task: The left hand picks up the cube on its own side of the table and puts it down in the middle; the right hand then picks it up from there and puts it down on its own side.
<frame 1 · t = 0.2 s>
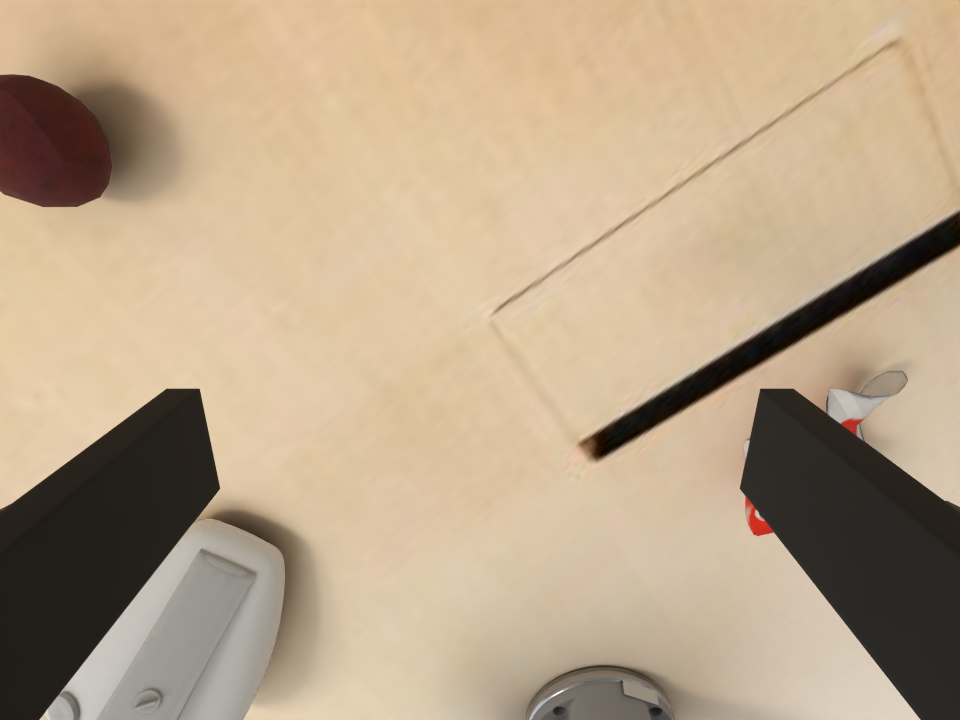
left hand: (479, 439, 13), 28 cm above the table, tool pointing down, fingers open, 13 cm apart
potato: (81, 147, 36), on the table
projector: (203, 604, 51), on the table
fish: (794, 424, 44), on the table
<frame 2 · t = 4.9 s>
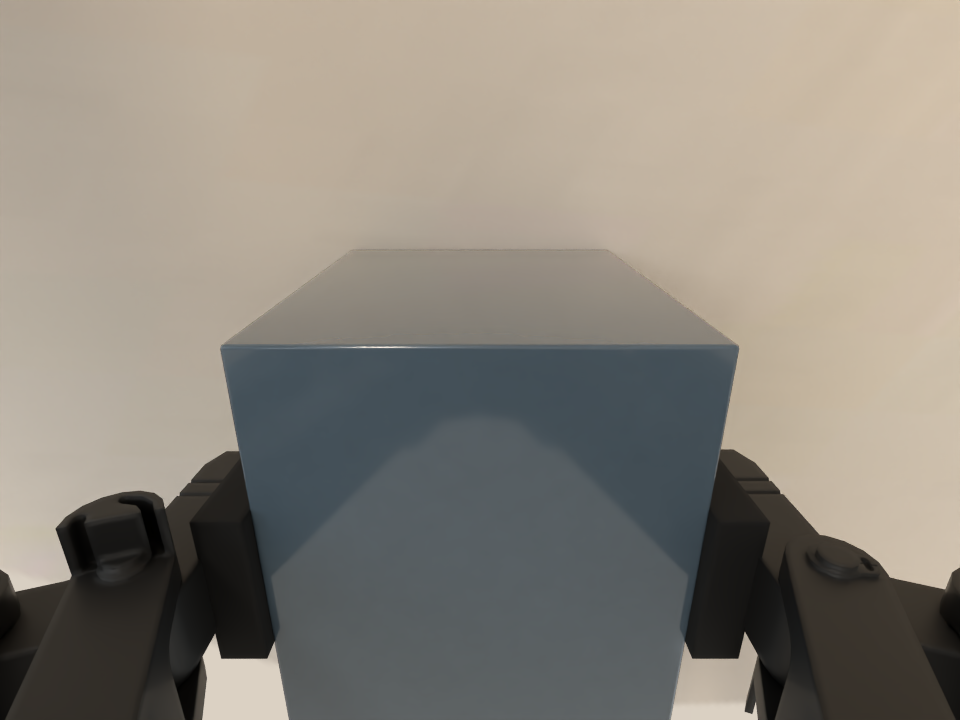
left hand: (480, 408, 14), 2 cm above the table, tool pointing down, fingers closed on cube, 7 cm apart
cube: (479, 384, 16), on the table, touching left hand
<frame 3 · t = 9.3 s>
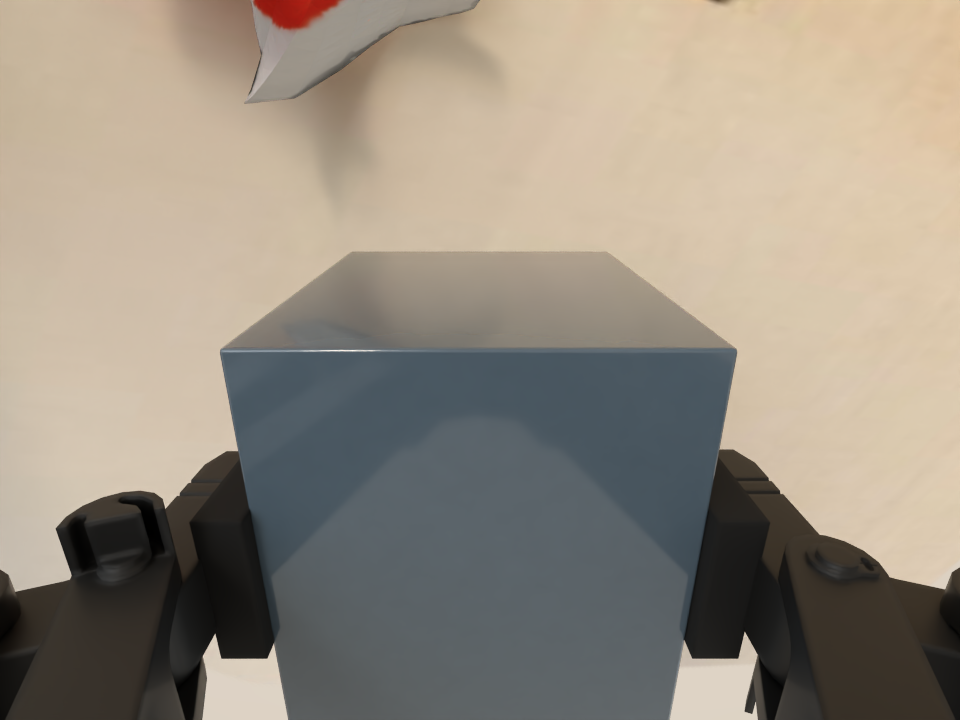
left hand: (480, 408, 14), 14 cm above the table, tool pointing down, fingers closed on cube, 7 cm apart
cube: (479, 385, 16), point 12 cm above the table, touching left hand
when the left hand's fingers open (4 cm above the table, at t = 13.7 s): cube drops 2 cm, on the table.
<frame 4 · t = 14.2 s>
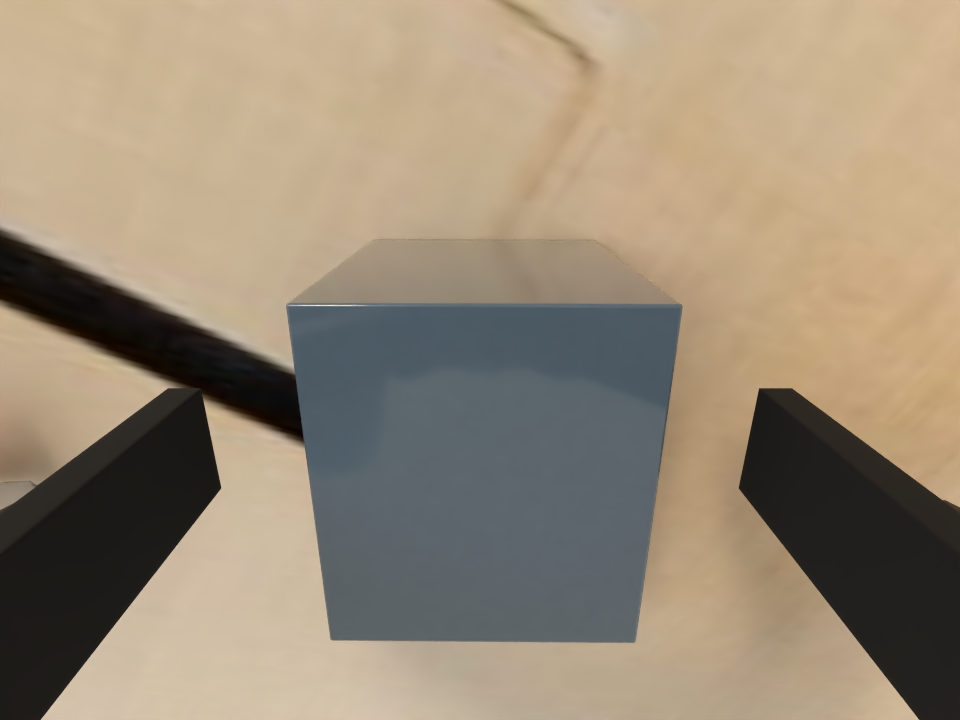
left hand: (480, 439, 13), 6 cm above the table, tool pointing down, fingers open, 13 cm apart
cube: (483, 358, 18), on the table
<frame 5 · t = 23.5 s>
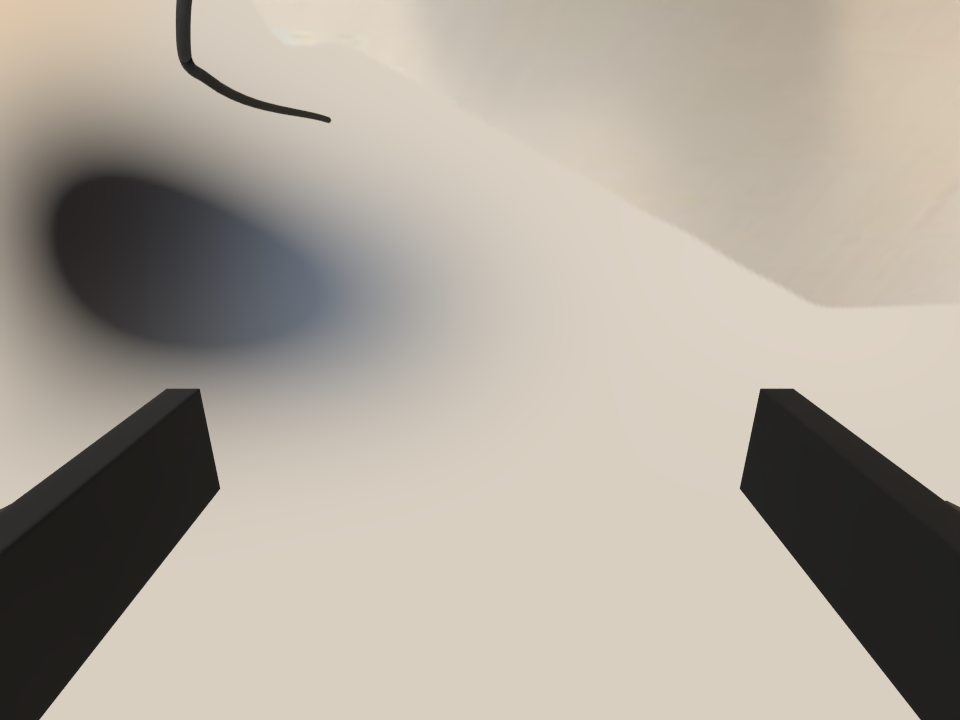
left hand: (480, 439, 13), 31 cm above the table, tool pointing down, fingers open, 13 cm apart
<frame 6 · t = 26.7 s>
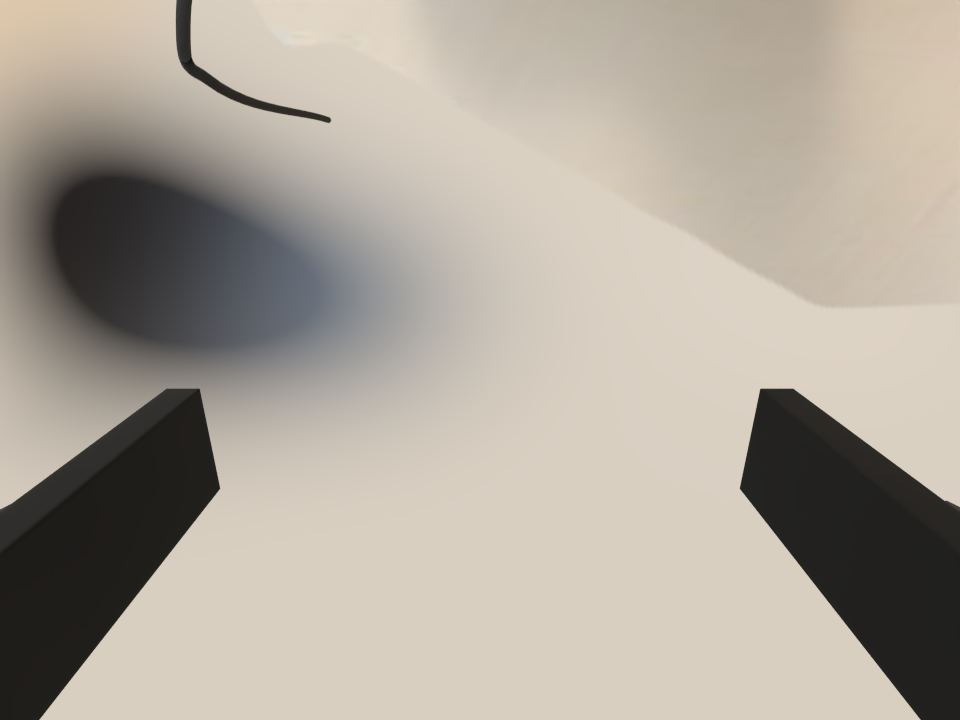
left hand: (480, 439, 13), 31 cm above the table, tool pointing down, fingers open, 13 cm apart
when the right hand's fingers open (4 cm above the table, at t = 29.9 s): cube drops 2 cm, on the table.
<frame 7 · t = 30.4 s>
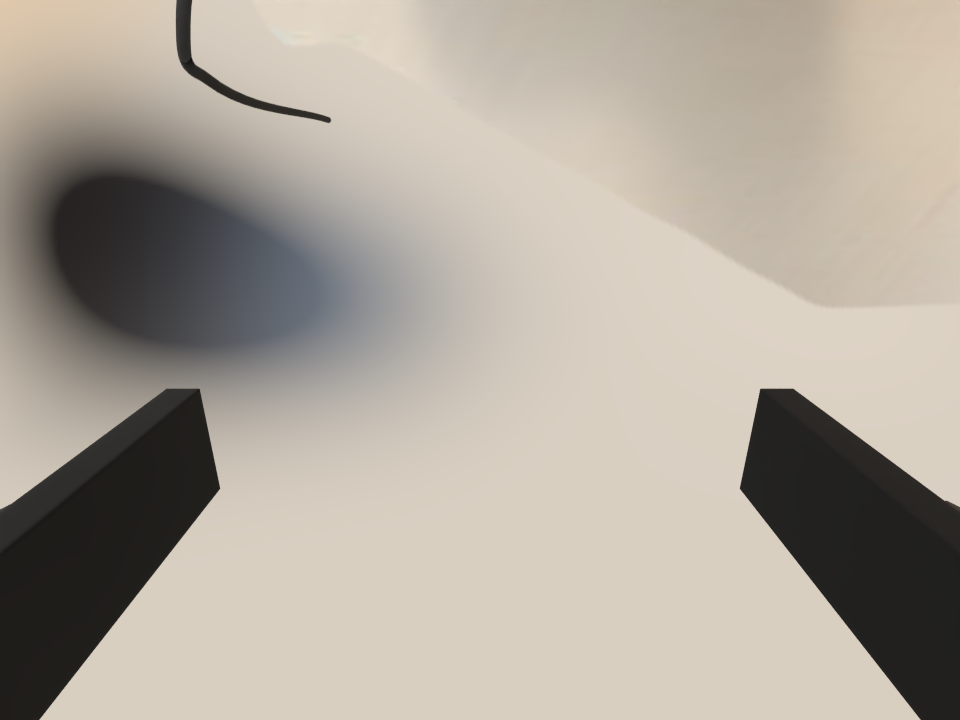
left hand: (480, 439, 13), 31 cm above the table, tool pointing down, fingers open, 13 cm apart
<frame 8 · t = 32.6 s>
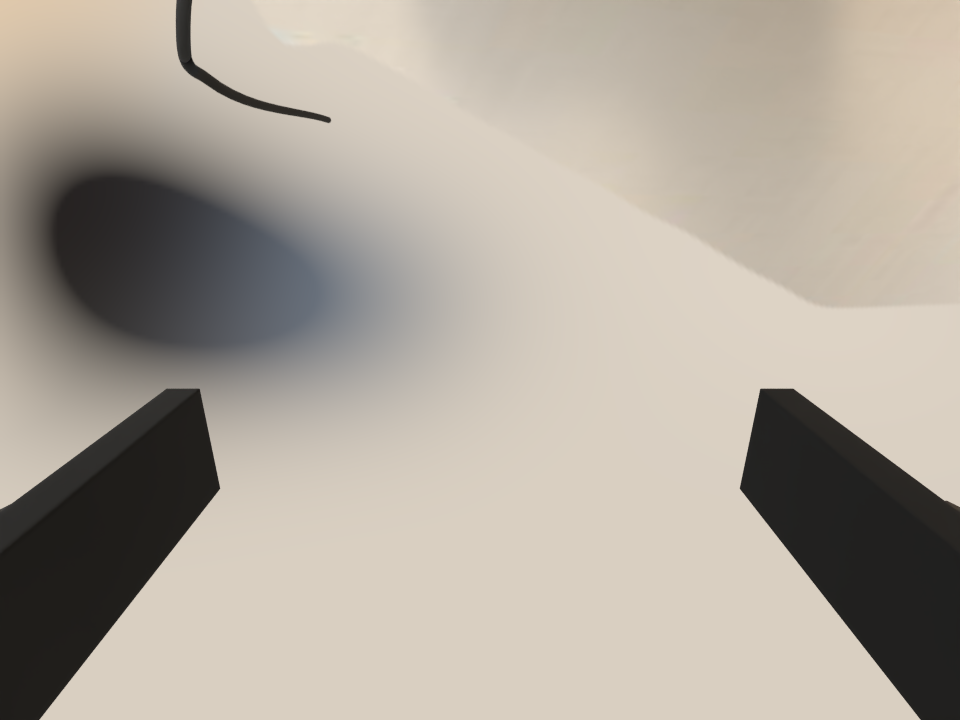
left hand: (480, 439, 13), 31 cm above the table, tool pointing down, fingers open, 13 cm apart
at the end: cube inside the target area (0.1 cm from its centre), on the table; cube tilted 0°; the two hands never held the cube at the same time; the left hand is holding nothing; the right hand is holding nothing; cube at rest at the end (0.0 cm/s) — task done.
